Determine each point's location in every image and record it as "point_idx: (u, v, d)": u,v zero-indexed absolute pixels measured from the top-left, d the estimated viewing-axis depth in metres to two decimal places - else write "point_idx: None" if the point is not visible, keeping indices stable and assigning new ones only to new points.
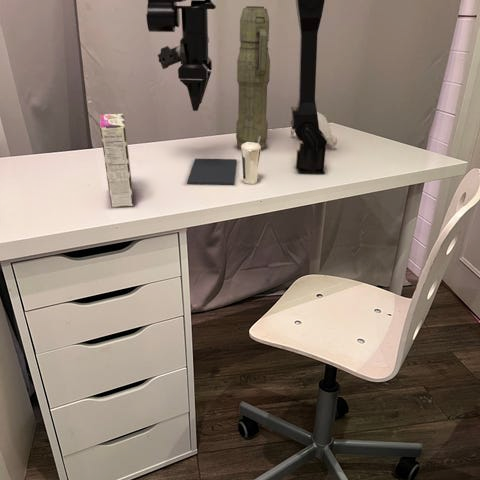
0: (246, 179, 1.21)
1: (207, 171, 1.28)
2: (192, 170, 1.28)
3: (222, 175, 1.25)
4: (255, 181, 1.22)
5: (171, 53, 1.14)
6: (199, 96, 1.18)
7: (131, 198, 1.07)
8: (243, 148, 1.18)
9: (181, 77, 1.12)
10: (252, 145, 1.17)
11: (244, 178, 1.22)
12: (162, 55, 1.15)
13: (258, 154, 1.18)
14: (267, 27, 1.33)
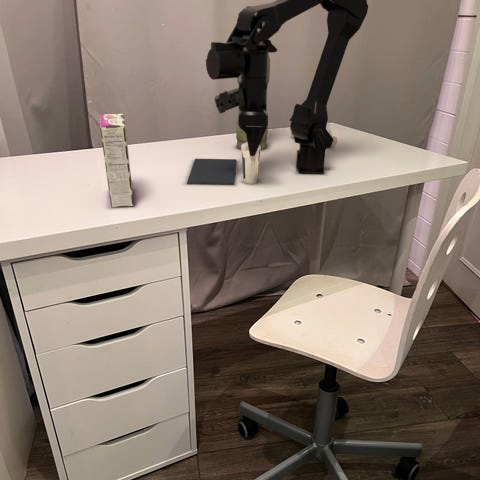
0: (246, 179, 1.21)
1: (207, 171, 1.28)
2: (192, 170, 1.28)
3: (222, 175, 1.25)
4: (255, 181, 1.22)
5: (230, 98, 1.10)
6: (257, 142, 1.13)
7: (131, 198, 1.07)
8: (243, 148, 1.18)
9: (241, 124, 1.08)
10: None
11: (244, 178, 1.22)
12: (220, 100, 1.10)
13: (258, 154, 1.18)
14: None
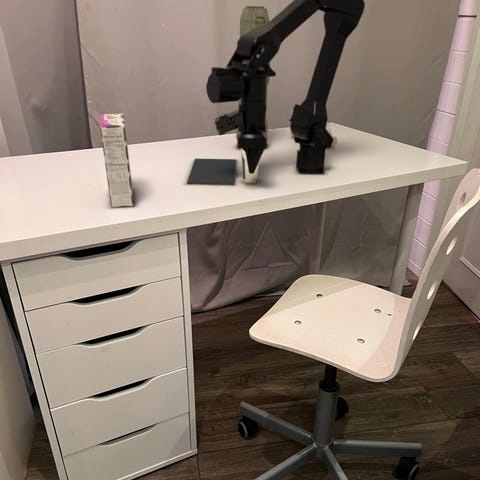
0: (246, 179, 1.21)
1: (207, 171, 1.28)
2: (192, 170, 1.28)
3: (222, 175, 1.25)
4: (255, 181, 1.22)
5: (230, 121, 1.12)
6: (256, 160, 1.17)
7: (131, 198, 1.07)
8: None
9: (241, 147, 1.10)
10: None
11: (244, 178, 1.22)
12: (220, 123, 1.12)
13: None
14: None
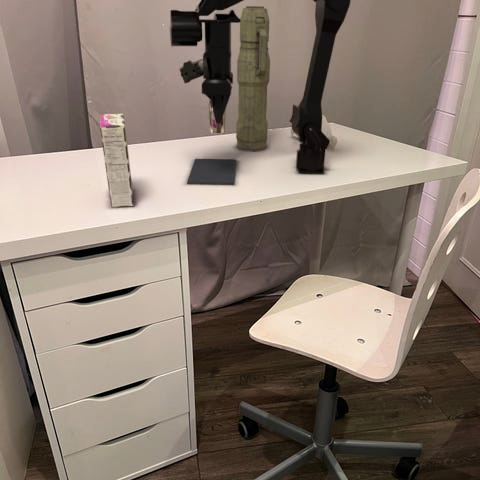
0: (213, 129, 1.21)
1: (207, 171, 1.28)
2: (192, 170, 1.28)
3: (222, 175, 1.25)
4: (222, 132, 1.22)
5: (194, 68, 1.12)
6: (222, 109, 1.17)
7: (131, 198, 1.07)
8: None
9: (205, 92, 1.10)
10: None
11: (211, 128, 1.21)
12: (185, 70, 1.12)
13: None
14: (267, 27, 1.33)
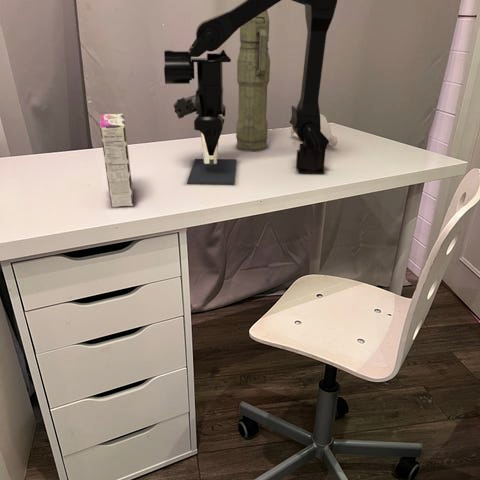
0: (206, 161, 1.26)
1: (207, 171, 1.28)
2: (192, 170, 1.28)
3: (222, 175, 1.25)
4: (215, 163, 1.27)
5: (187, 104, 1.17)
6: (214, 142, 1.22)
7: (131, 198, 1.07)
8: None
9: (197, 129, 1.15)
10: None
11: (204, 160, 1.27)
12: (178, 106, 1.17)
13: None
14: (267, 27, 1.33)
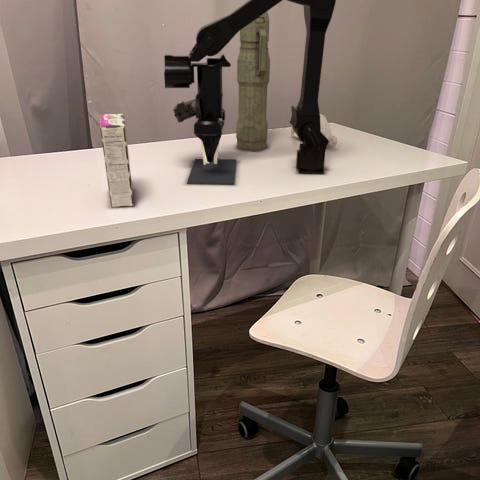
0: (206, 167, 1.27)
1: (207, 171, 1.28)
2: (192, 170, 1.28)
3: (222, 175, 1.25)
4: (215, 169, 1.28)
5: (187, 109, 1.18)
6: (213, 149, 1.21)
7: (131, 198, 1.07)
8: None
9: (197, 133, 1.15)
10: None
11: (204, 166, 1.28)
12: (178, 110, 1.18)
13: None
14: (267, 27, 1.33)
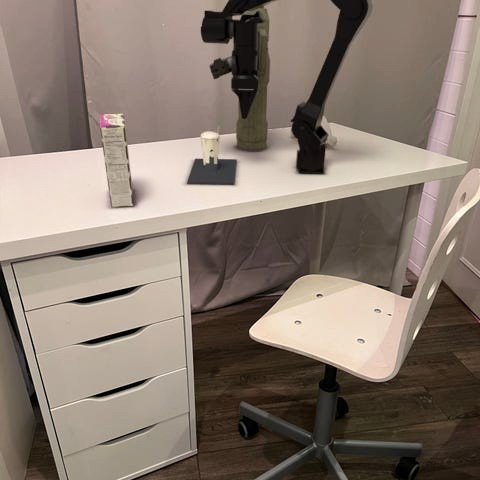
0: (206, 167, 1.27)
1: (207, 171, 1.28)
2: (192, 170, 1.28)
3: (222, 175, 1.25)
4: (215, 169, 1.28)
5: (223, 64, 1.21)
6: (248, 105, 1.24)
7: (131, 198, 1.07)
8: (202, 137, 1.23)
9: (234, 87, 1.18)
10: (210, 134, 1.23)
11: (204, 166, 1.28)
12: (215, 66, 1.21)
13: (217, 143, 1.24)
14: (267, 27, 1.33)
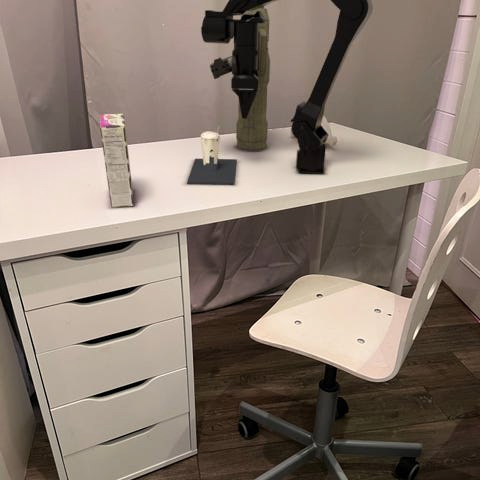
0: (206, 167, 1.27)
1: (207, 171, 1.28)
2: (192, 170, 1.28)
3: (222, 175, 1.25)
4: (215, 169, 1.28)
5: (224, 64, 1.21)
6: (248, 105, 1.24)
7: (131, 198, 1.07)
8: (202, 137, 1.23)
9: (234, 87, 1.19)
10: (210, 134, 1.23)
11: (204, 166, 1.28)
12: (215, 66, 1.21)
13: (217, 143, 1.24)
14: (267, 27, 1.33)
